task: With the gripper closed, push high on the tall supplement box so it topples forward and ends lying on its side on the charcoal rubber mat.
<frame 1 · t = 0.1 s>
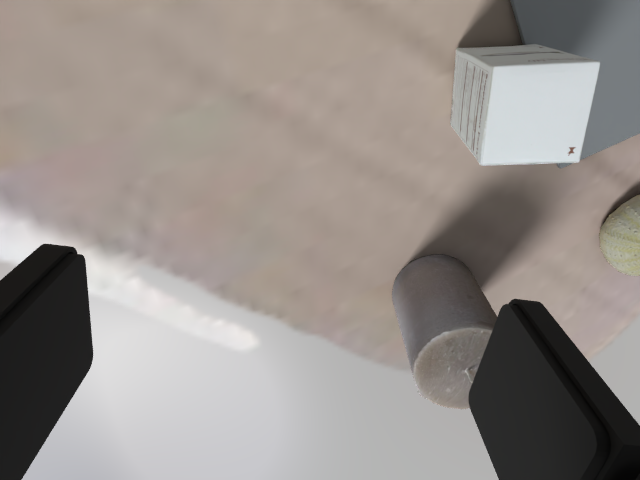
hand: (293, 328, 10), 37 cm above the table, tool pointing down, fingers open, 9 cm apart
charcoal mat: (617, 34, 42), on the table
pillar candle: (430, 288, 54), on the table
supplement box: (489, 85, 44), on the table, touching charcoal mat
sea urchin shell: (633, 226, 51), on the table
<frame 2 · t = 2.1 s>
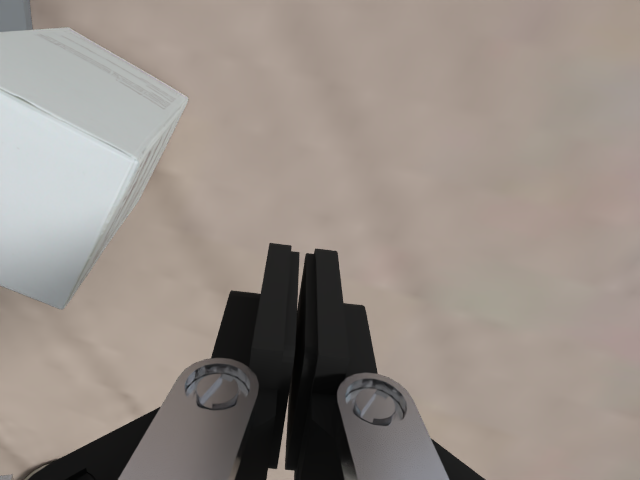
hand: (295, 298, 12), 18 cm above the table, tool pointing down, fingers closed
supplement box: (108, 119, 27), on the table, touching charcoal mat
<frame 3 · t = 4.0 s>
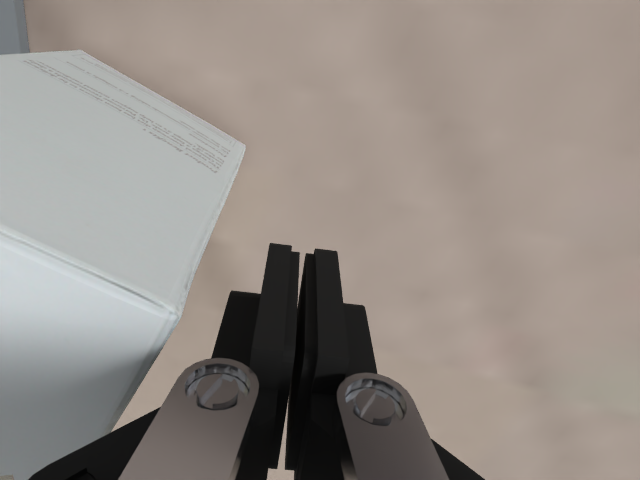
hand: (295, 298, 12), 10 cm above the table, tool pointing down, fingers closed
supplement box: (135, 174, 19), on the table, touching charcoal mat, gripper
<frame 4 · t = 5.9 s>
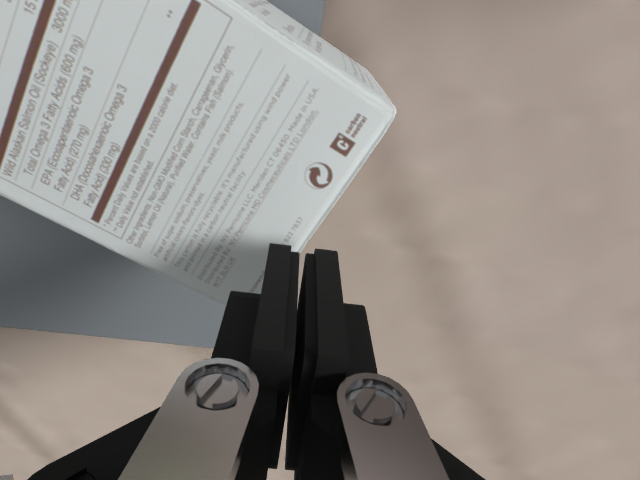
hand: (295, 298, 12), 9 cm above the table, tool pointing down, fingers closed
charcoal mat: (106, 130, 19), on the table
supplement box: (323, 186, 15), point 4 cm above the table, touching charcoal mat
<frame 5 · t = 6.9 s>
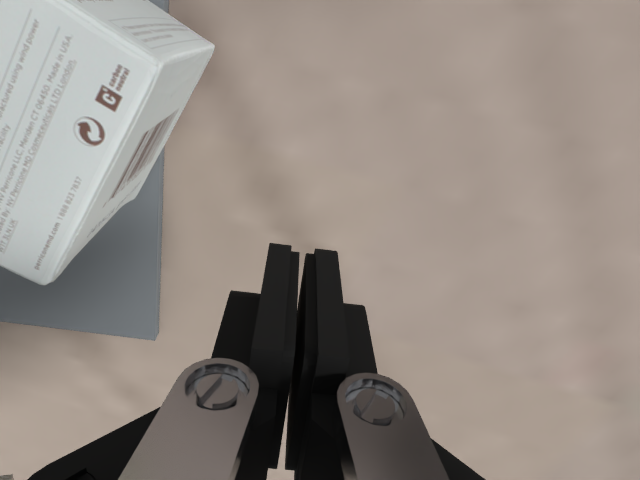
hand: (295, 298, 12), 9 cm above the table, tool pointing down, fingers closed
supplement box: (150, 158, 15), point 4 cm above the table, touching charcoal mat
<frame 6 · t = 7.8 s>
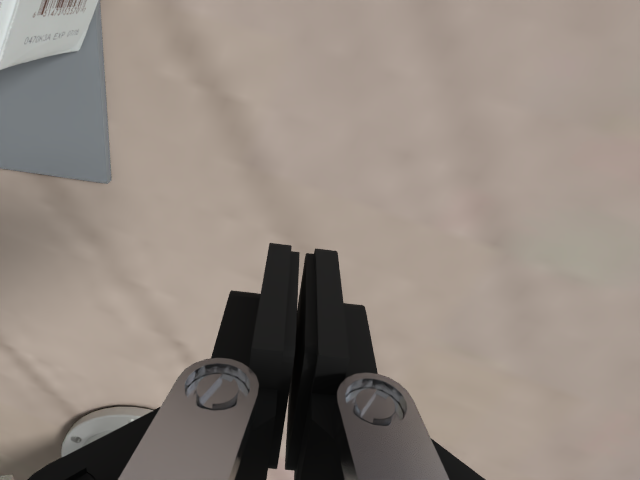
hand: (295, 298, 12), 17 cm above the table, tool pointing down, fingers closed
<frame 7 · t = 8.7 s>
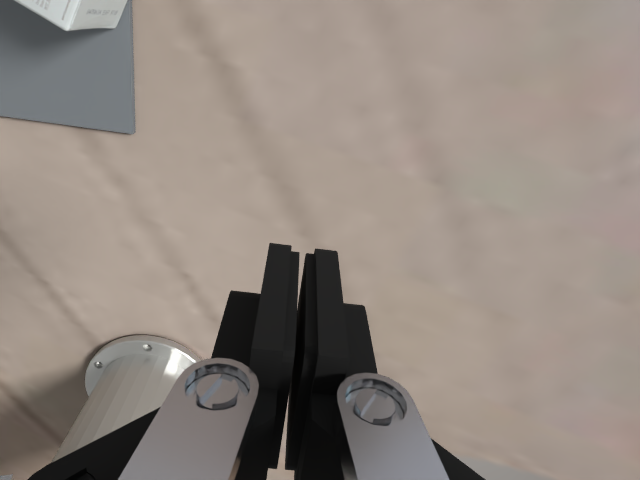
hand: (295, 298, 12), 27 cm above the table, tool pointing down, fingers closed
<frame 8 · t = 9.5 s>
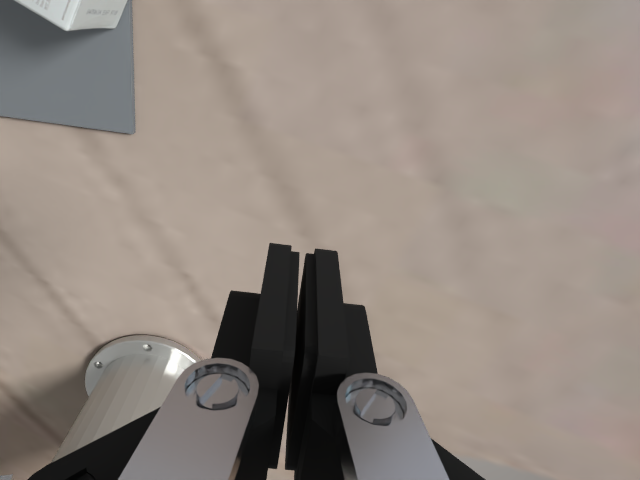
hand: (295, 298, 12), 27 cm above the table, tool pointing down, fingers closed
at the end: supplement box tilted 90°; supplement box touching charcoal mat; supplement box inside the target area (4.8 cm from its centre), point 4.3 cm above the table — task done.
